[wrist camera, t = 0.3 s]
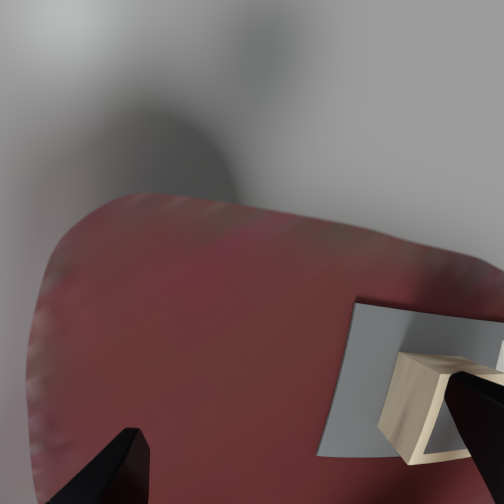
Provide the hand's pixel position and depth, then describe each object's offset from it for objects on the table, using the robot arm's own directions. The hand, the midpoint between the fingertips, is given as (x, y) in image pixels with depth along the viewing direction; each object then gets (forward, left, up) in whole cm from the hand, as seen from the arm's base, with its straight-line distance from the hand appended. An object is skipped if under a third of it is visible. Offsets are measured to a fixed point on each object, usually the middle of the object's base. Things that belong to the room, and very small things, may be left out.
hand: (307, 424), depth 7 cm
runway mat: (-17, -7, -14) cm, 23 cm away
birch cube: (-12, -4, -13) cm, 18 cm away
